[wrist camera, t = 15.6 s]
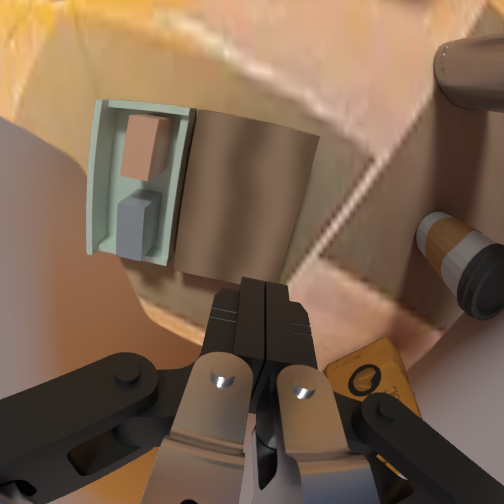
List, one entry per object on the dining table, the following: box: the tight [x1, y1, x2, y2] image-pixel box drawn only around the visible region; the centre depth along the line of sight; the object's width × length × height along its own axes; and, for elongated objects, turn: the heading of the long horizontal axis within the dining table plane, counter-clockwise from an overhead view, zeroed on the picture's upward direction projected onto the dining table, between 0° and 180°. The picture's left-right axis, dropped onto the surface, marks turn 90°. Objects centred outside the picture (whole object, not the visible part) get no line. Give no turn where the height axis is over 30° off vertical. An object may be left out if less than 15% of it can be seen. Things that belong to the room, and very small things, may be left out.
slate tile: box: [116, 188, 162, 262], centre depth 32 cm, size 6×6×3 cm
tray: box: [86, 100, 197, 266], centre depth 31 cm, size 10×18×5 cm, turn 167°
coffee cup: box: [416, 212, 504, 320], centre depth 29 cm, size 8×8×15 cm
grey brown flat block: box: [173, 110, 320, 284], centre depth 33 cm, size 12×18×4 cm, turn 167°
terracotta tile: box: [120, 114, 176, 181], centre depth 28 cm, size 6×6×3 cm
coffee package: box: [326, 337, 423, 474], centre depth 36 cm, size 10×12×22 cm
